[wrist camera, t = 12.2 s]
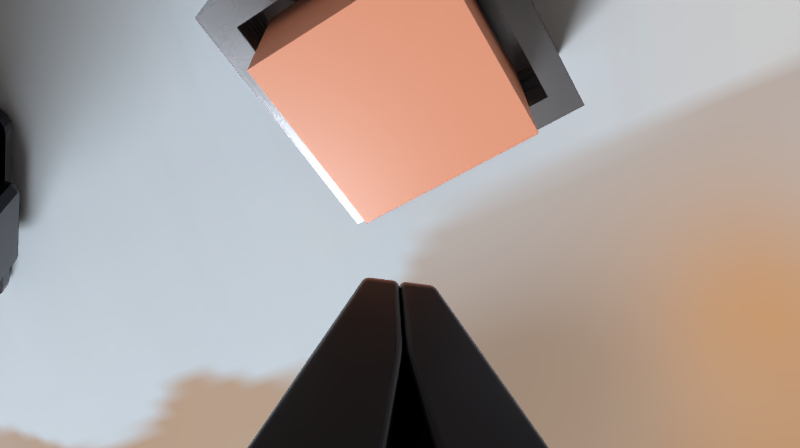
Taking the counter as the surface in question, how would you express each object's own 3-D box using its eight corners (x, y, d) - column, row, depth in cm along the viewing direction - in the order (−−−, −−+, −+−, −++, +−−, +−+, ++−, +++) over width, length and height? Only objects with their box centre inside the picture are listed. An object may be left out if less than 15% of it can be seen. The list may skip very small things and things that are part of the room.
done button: (371, 155, 17) (366, 223, 15) (271, 18, 15) (246, 69, 13) (516, 73, 16) (538, 132, 14) (428, -86, 14) (435, -50, 12)
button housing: (362, 164, 20) (357, 224, 17) (224, -22, 17) (195, 18, 14) (558, 55, 18) (584, 105, 15) (441, -173, 15) (450, -157, 13)
